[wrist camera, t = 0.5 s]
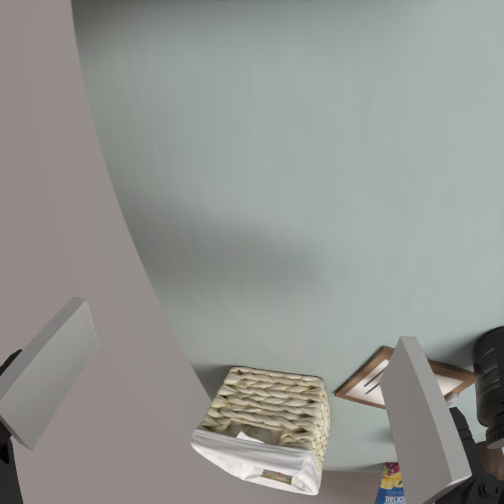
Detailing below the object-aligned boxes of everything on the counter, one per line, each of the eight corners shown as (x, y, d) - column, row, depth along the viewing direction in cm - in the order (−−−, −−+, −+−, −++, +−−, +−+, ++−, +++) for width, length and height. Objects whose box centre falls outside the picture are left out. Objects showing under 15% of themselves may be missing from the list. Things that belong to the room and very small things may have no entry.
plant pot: (495, 449, 41) (490, 502, 29) (449, 455, 47) (440, 510, 35) (522, 429, 32) (519, 492, 21) (471, 437, 38) (464, 505, 27)
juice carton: (382, 467, 62) (363, 537, 44) (384, 462, 58) (364, 539, 40) (420, 466, 56) (404, 538, 39) (425, 461, 52) (409, 539, 35)
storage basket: (222, 356, 41) (180, 443, 31) (334, 371, 35) (305, 479, 24) (260, 417, 55) (236, 478, 44) (337, 429, 48) (318, 496, 37)
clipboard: (384, 345, 29) (382, 358, 27) (480, 374, 26) (481, 384, 25) (334, 392, 38) (332, 401, 37) (420, 413, 36) (419, 422, 35)
